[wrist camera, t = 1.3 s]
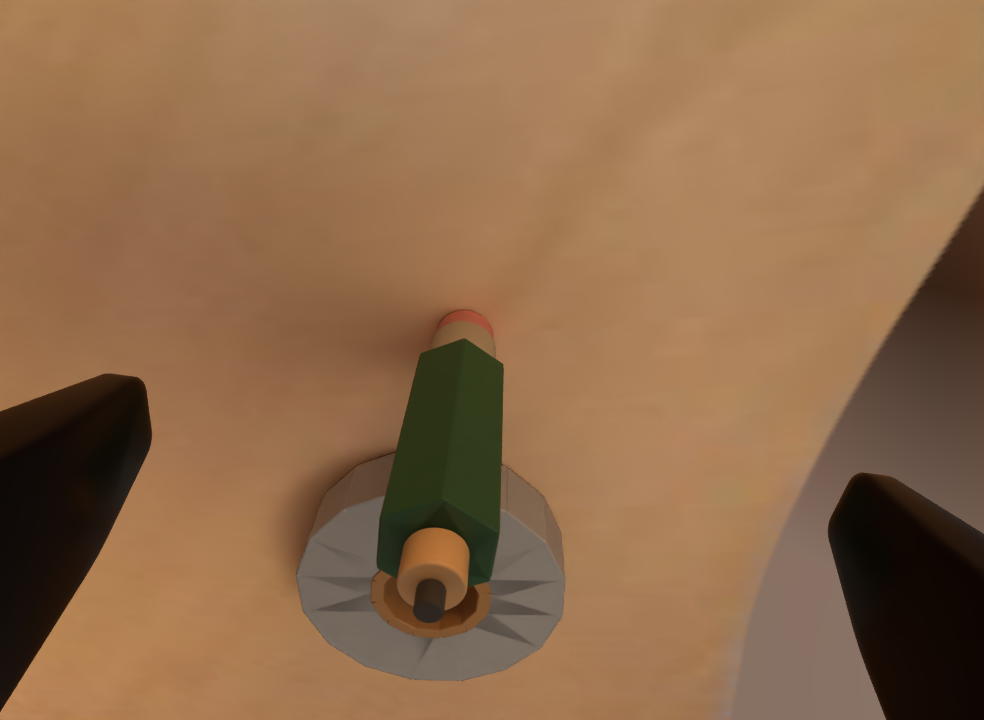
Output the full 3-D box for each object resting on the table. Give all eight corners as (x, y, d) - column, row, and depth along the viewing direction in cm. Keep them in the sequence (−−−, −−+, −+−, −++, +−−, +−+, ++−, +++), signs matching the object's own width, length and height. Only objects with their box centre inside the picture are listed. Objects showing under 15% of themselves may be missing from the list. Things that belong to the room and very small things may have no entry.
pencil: (424, 366, 23) (358, 655, 13) (432, 291, 22) (365, 550, 12) (496, 375, 24) (483, 669, 13) (508, 301, 22) (504, 567, 12)
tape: (384, 652, 31) (374, 705, 29) (267, 493, 26) (244, 542, 24) (593, 597, 29) (600, 649, 26) (504, 415, 24) (503, 459, 22)
